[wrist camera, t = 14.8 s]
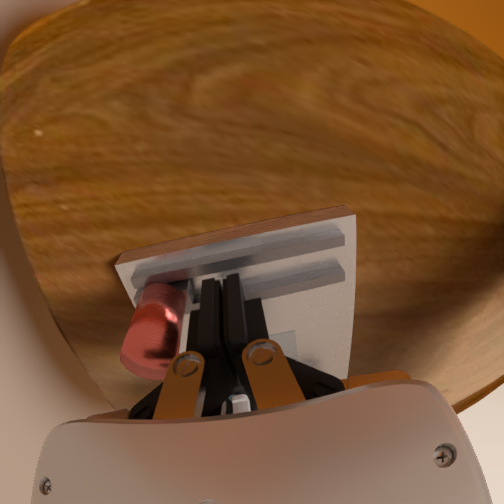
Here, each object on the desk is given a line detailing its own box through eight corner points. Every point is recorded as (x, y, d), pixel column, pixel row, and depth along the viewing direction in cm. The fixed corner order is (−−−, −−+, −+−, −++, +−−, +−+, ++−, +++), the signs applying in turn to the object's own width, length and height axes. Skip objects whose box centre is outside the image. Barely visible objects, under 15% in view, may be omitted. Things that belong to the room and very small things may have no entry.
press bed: (344, 205, 15) (408, 262, 9) (339, 385, 23) (359, 441, 18) (122, 252, 15) (79, 328, 9) (208, 411, 23) (209, 469, 18)
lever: (184, 266, 14) (170, 338, 9) (198, 303, 15) (192, 377, 10) (132, 277, 14) (103, 345, 9) (149, 312, 15) (130, 381, 10)
